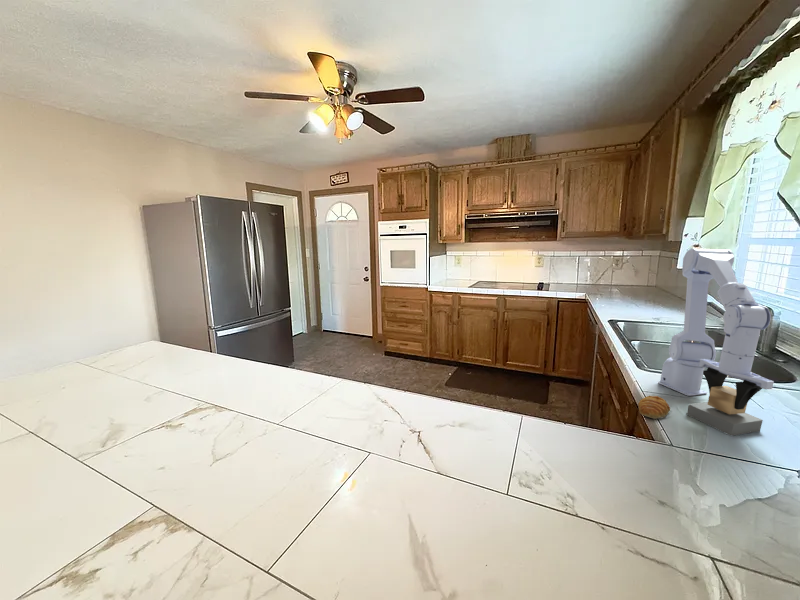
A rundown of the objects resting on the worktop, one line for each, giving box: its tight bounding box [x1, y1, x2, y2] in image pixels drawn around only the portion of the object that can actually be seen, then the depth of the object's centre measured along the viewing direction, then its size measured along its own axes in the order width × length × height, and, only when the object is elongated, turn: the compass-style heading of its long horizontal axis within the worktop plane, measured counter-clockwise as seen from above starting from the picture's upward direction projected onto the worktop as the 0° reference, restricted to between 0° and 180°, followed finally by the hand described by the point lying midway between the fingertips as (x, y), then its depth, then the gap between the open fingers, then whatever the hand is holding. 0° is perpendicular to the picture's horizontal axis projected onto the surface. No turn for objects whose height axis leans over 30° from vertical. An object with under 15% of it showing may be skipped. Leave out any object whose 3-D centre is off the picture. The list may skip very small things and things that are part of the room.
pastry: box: [637, 395, 671, 420], centre depth 89 cm, size 9×7×4 cm
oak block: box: [707, 385, 748, 414], centre depth 85 cm, size 5×5×5 cm
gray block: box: [686, 401, 764, 437], centre depth 85 cm, size 10×10×3 cm
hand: (726, 403), depth 85 cm, fingers closed on oak block, 5 cm apart
